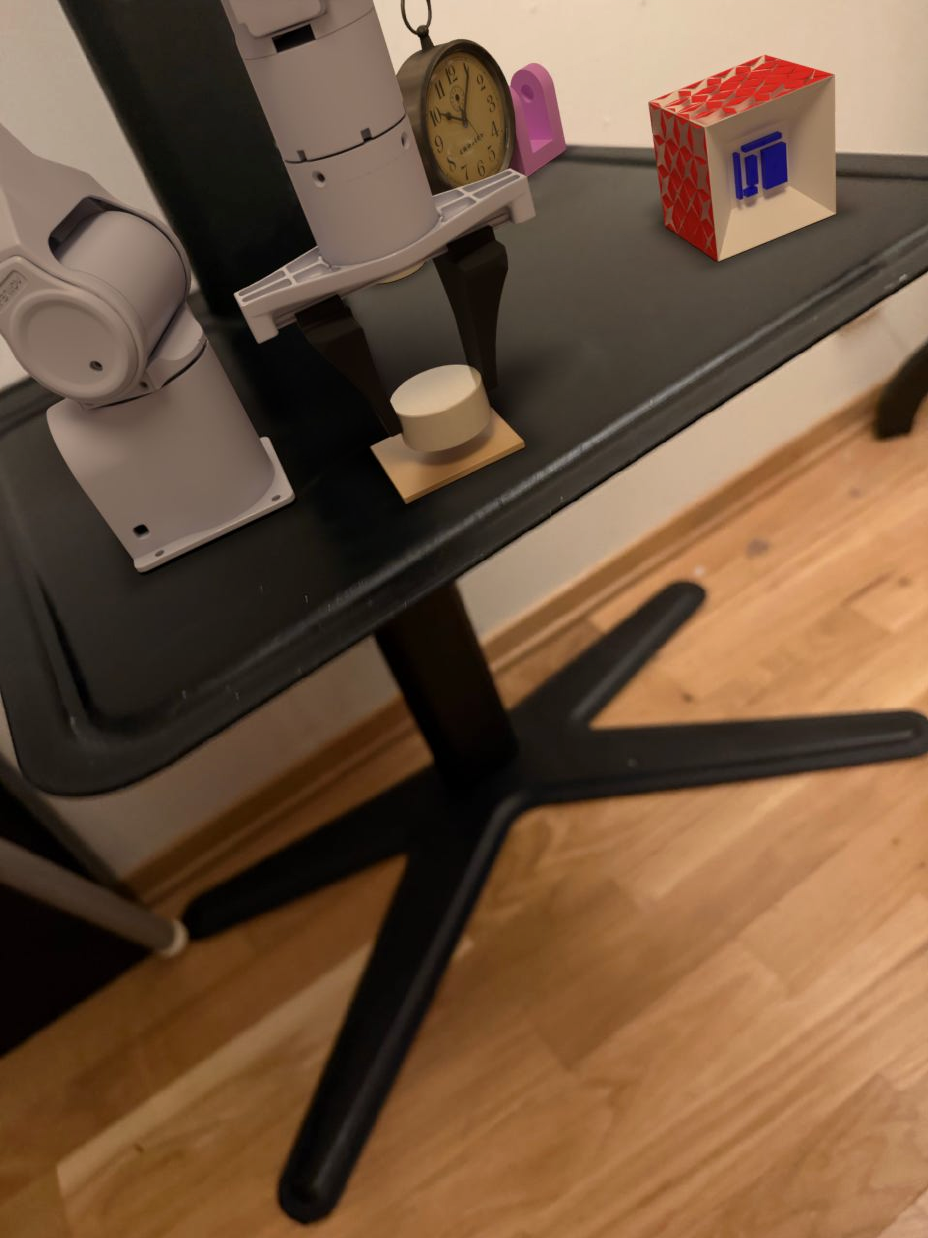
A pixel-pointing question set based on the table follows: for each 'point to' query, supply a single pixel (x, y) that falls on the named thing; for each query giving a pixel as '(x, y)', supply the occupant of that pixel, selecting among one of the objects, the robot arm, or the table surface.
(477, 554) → the table surface
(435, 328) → the table surface
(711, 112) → the puzzle cube
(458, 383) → the short cream cylinder
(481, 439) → the placemat
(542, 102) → the bracket
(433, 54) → the alarm clock
